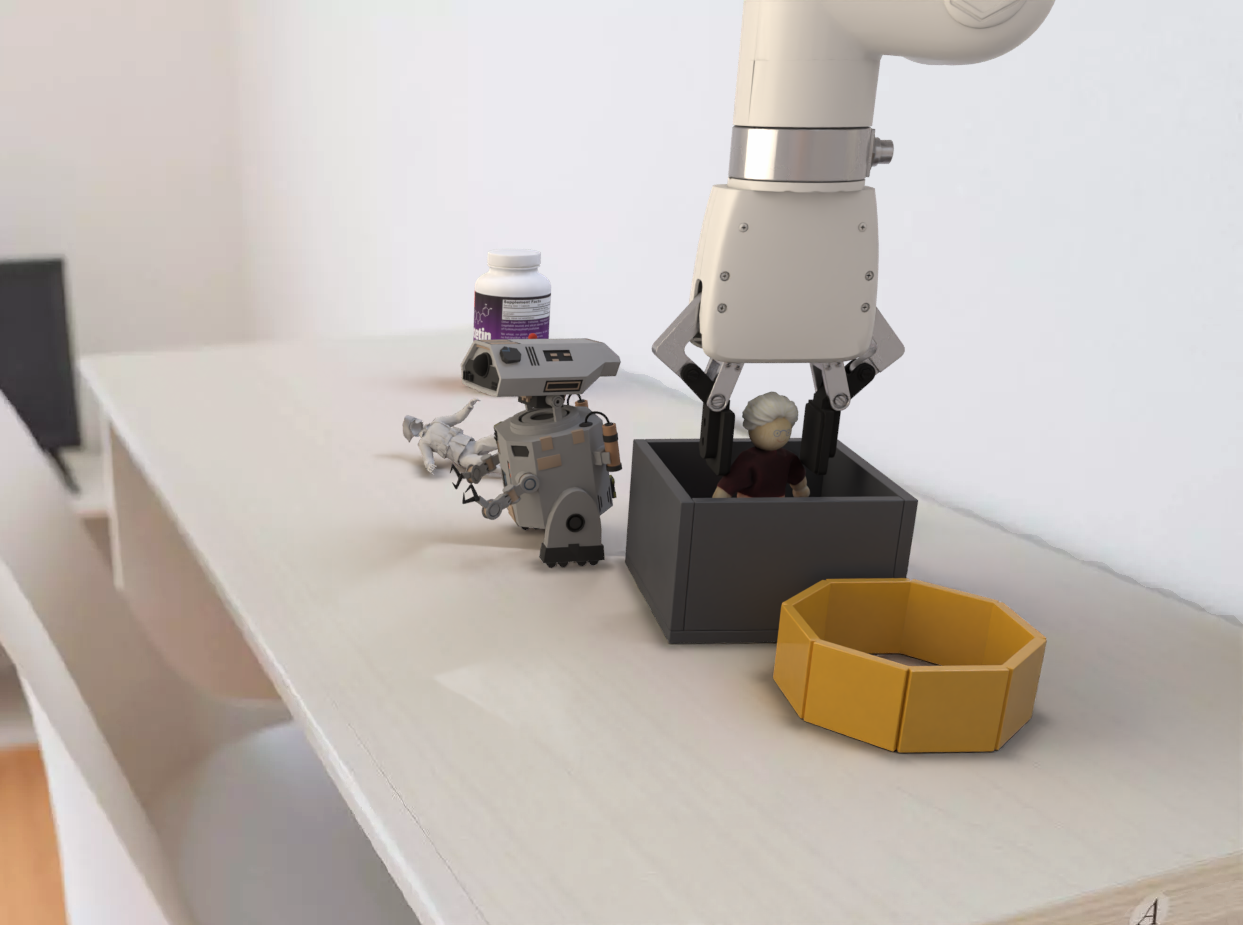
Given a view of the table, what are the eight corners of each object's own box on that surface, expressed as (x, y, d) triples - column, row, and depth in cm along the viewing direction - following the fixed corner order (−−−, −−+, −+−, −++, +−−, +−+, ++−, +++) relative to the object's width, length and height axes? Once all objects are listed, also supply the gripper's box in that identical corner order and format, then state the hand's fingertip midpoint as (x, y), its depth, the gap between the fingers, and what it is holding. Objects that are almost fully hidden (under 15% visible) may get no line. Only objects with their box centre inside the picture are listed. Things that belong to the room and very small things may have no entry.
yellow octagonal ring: (960, 648, 75) (972, 577, 73) (1068, 751, 63) (1085, 669, 62) (753, 650, 74) (761, 579, 73) (824, 754, 63) (835, 671, 61)
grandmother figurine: (739, 610, 78) (759, 406, 74) (690, 591, 81) (707, 394, 76) (816, 582, 82) (840, 388, 78) (767, 566, 85) (787, 378, 81)
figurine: (438, 530, 94) (441, 327, 89) (589, 523, 96) (601, 323, 91) (461, 574, 86) (465, 353, 81) (626, 566, 87) (641, 347, 82)
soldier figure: (495, 502, 104) (373, 439, 108) (500, 525, 108) (383, 463, 112) (544, 426, 106) (422, 367, 109) (547, 452, 110) (430, 394, 114)
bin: (820, 560, 88) (835, 437, 85) (897, 641, 76) (918, 500, 73) (624, 562, 88) (633, 438, 85) (668, 643, 75) (680, 502, 72)
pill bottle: (466, 380, 141) (469, 247, 136) (538, 379, 142) (543, 246, 137) (478, 397, 134) (481, 257, 128) (554, 395, 134) (560, 256, 129)
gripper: (920, 157, 76) (879, 451, 83) (634, 157, 76) (615, 453, 82) (976, 165, 69) (927, 486, 76) (661, 165, 69) (639, 488, 75)
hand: (765, 466), depth 79 cm, fingers closed on grandmother figurine, 5 cm apart
